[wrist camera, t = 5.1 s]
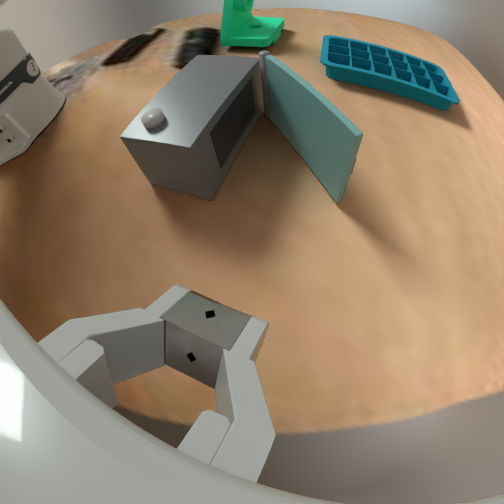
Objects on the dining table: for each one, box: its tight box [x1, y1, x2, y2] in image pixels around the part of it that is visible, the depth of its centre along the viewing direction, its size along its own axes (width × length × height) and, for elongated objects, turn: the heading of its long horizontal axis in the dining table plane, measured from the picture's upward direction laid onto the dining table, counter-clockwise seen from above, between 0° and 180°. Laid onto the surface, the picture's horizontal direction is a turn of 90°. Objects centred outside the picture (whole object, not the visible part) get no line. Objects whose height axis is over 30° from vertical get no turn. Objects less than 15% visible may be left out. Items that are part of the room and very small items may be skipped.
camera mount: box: [220, 0, 284, 47], centre depth 31 cm, size 12×8×10 cm, turn 162°
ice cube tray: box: [320, 35, 460, 111], centre depth 28 cm, size 12×20×3 cm, turn 76°
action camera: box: [120, 55, 264, 201], centre depth 23 cm, size 15×7×8 cm, turn 158°
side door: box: [259, 50, 363, 202], centre depth 21 cm, size 13×1×8 cm, turn 26°
